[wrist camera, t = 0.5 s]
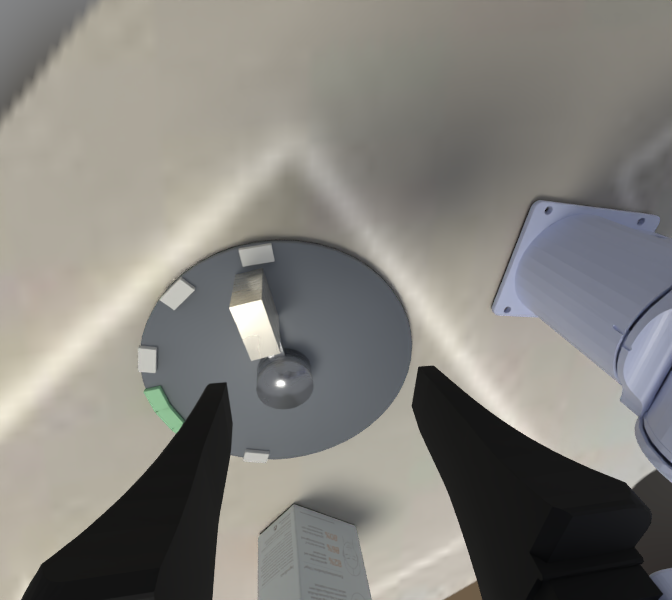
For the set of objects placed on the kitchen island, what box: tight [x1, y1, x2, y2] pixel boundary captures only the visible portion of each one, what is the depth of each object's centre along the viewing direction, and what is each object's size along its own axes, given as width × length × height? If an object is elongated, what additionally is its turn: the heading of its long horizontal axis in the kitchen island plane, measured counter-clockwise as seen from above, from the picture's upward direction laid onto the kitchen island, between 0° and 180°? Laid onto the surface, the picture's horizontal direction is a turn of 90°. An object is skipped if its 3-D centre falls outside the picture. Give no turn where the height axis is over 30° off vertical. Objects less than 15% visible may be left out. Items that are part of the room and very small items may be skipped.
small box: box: [258, 504, 372, 600], centre depth 31 cm, size 8×6×10 cm
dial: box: [138, 240, 412, 463], centre depth 25 cm, size 18×18×1 cm
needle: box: [229, 268, 314, 409], centre depth 22 cm, size 9×4×4 cm, turn 11°
